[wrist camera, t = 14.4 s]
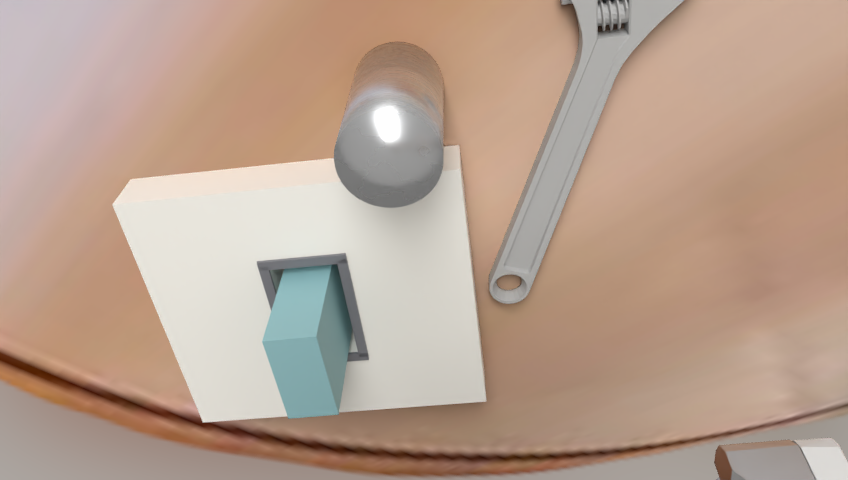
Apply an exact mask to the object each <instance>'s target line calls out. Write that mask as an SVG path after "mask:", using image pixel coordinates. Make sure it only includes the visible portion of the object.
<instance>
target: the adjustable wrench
mask: <svg viewBox="0 0 848 480" xmlns="http://www.w3.org/2000/svg"><path fill="white" fill-rule="evenodd" d="M560 1H561V5H566V4H573V5H574V9H575V13H576V17H577V21H578V24H579V44H578V50H577V54H576V58H575V61H574V64H573V66H572V69H571V71H570V74H569V76H568V79H567V81H566V84H565V86H564V89H563V91H562V94H561V96H560V99H559V101H558V104H557V106H556V109H555V111H554V114H553V116H552V119H551V121H550V124H549V126H548V129H547V131H546V134H545V136H544V139H543V141H542V144H541V146H540V149H539V151H538V154H537V157H536V159H535V162H534V164H533V167H532V169H531V172H530V174H529V177H528V179H527V182H526V184H525V187H524V189H523V192H522V194H521V197H520V199H519V202H518V204H517V207H516V209H515V212H514V214H513V217H512V219H511V222H510V224H509V227H508V229H507V232H506V234H505V237H504V239H503V242H502V244H501V247H500V249H499V252H498V254H497V257H496V259H495V262H494V264H493V267H492V269H491V272H490V274H489V289H490V293H491V295H492V297H493V298H494V299H496V300H497V301H499V302H501V303H506V304H512V303H517V302H519V301H521V300H523V299H524V298H525V297H526V296H527V295H528V293H529V291H530V288H531V286H532V284H533V281H534V279H535V276H536V274H537V271H538V269H539V266H540V264H541V261H542V259H543V256H544V254H545V251H546V249H547V246H548V244H549V241H550V239H551V236H552V234H553V231H554V229H555V226H556V224H557V221H558V219H559V217H560V214H561V212H562V209H563V207H564V204H565V202H566V199H567V197H568V194H569V192H570V189H571V187H572V184H573V182H574V179H575V177H576V174H577V172H578V169H579V167H580V164H581V162H582V159H583V157H584V154H585V152H586V150H587V147H588V145H589V142H590V140H591V137H592V135H593V132H594V130H595V127H596V125H597V122H598V120H599V117H600V115H601V112H602V110H603V107H604V105H605V102H606V100H607V97H608V95H609V92H610V90H611V87H612V85H613V83H614V80H615V78H616V76H617V74H618V72H619V70H620V68H621V66H622V65H623V63H624V62H625V61H626V59H627V58H628V57H629V55H630V54H631V53H632V51H633V50H634V49H635V48H636V47H637V46H638V45H639V44H640V43H641V41H642V40H643V39H644V38H645V37H646V36H647V35H648V34H649V33H650V32H651V31H652V30H653V29H654V28H655V27H656V26H657V25H658V24H659V23H660V22H661V21H662V20H663V19H664V18H665V17H666V16H667V15H668V14H670V13H671V12H672V11H673V10H674V9H675V8H676V7H677V6H678V5H680V4H681V3H682V2H683V1H684V0H611V1H610V0H603V2H602V0H560ZM622 23H624V28H623V29H620V28H621V24H622ZM613 24H617V28H618V29H615V30H613ZM606 25H609V27H610V30H608V31H605V26H606ZM598 26H602V30H603V31H601V32H598ZM508 274H513V275H517V276H520V277H521V280H522V282H521V285H520V286H518V287H517V288H515V289H512V290H504V289H501V288H499V287H498V286H497V283H496V280H497V279H498V278H499V277H501V276H503V275H508Z"/></svg>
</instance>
